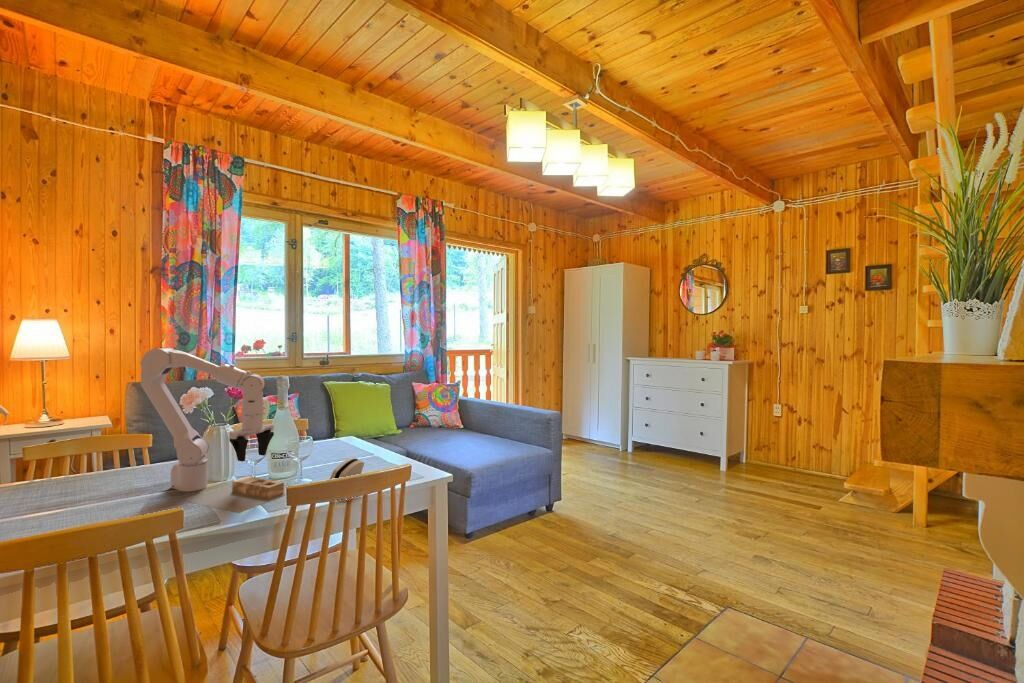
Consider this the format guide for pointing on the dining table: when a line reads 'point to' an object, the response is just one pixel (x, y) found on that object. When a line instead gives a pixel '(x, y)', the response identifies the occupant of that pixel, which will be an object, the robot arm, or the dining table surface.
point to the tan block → (258, 487)
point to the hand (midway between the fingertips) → (251, 457)
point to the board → (229, 499)
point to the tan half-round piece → (348, 468)
